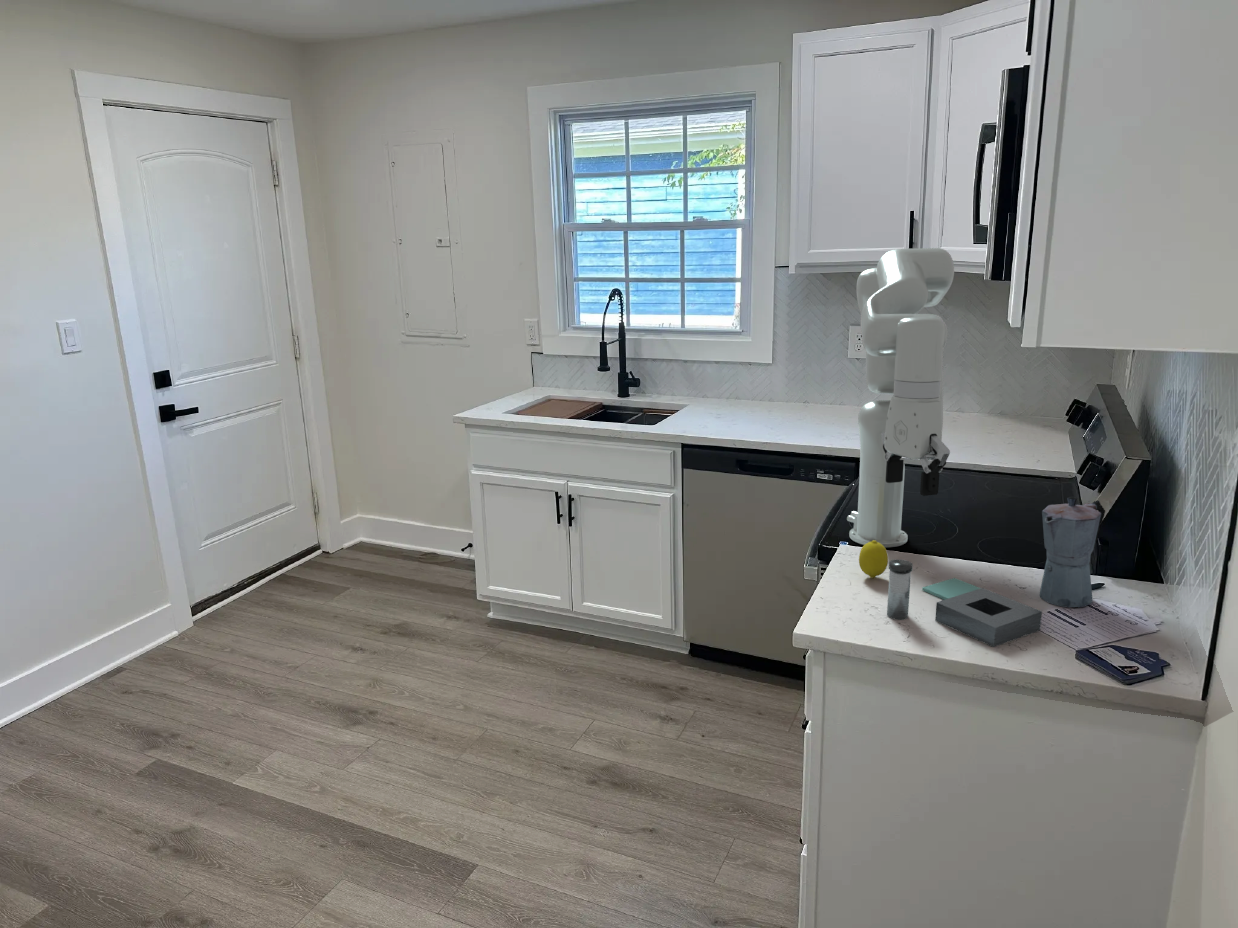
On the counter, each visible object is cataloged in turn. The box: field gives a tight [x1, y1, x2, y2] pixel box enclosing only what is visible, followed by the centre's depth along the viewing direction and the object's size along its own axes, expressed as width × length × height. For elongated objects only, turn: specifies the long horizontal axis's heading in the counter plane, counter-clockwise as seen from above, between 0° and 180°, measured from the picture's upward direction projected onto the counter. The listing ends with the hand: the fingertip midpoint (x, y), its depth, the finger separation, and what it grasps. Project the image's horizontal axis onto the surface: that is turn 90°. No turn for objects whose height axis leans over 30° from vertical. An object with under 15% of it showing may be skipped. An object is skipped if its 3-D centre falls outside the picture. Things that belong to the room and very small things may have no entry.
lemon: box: [858, 540, 889, 579], centre depth 168 cm, size 6×6×8 cm
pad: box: [921, 577, 981, 600], centre depth 161 cm, size 9×9×1 cm
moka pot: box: [1039, 496, 1106, 608], centre depth 155 cm, size 10×15×20 cm, turn 119°
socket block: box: [934, 587, 1043, 648], centre depth 147 cm, size 12×12×4 cm
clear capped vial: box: [886, 559, 914, 621], centre depth 151 cm, size 4×4×10 cm
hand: (910, 488), depth 147 cm, fingers open, 9 cm apart
